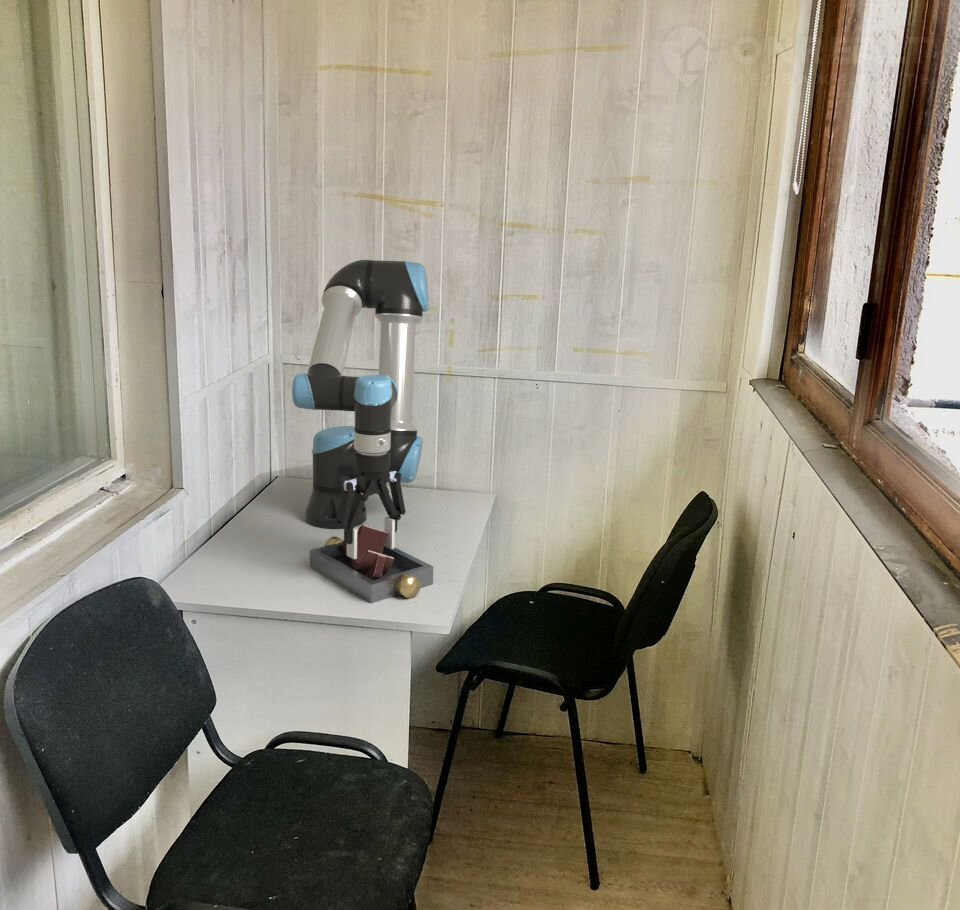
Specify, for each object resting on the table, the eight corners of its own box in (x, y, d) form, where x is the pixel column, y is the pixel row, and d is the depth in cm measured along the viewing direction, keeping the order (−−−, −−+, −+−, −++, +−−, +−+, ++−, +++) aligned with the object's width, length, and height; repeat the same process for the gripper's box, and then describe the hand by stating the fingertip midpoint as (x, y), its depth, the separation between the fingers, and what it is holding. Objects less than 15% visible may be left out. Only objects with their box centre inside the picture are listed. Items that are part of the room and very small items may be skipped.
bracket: (363, 575, 188) (378, 529, 189) (334, 562, 203) (348, 519, 204) (389, 583, 191) (403, 537, 192) (359, 569, 206) (373, 527, 207)
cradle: (302, 562, 203) (302, 544, 202) (361, 547, 214) (362, 529, 213) (380, 608, 183) (380, 587, 182) (441, 588, 193) (442, 569, 192)
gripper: (338, 463, 181) (337, 569, 187) (424, 447, 195) (421, 546, 202) (317, 454, 186) (317, 557, 192) (403, 439, 201) (400, 536, 207)
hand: (370, 551), depth 197 cm, fingers closed on bracket, 9 cm apart
